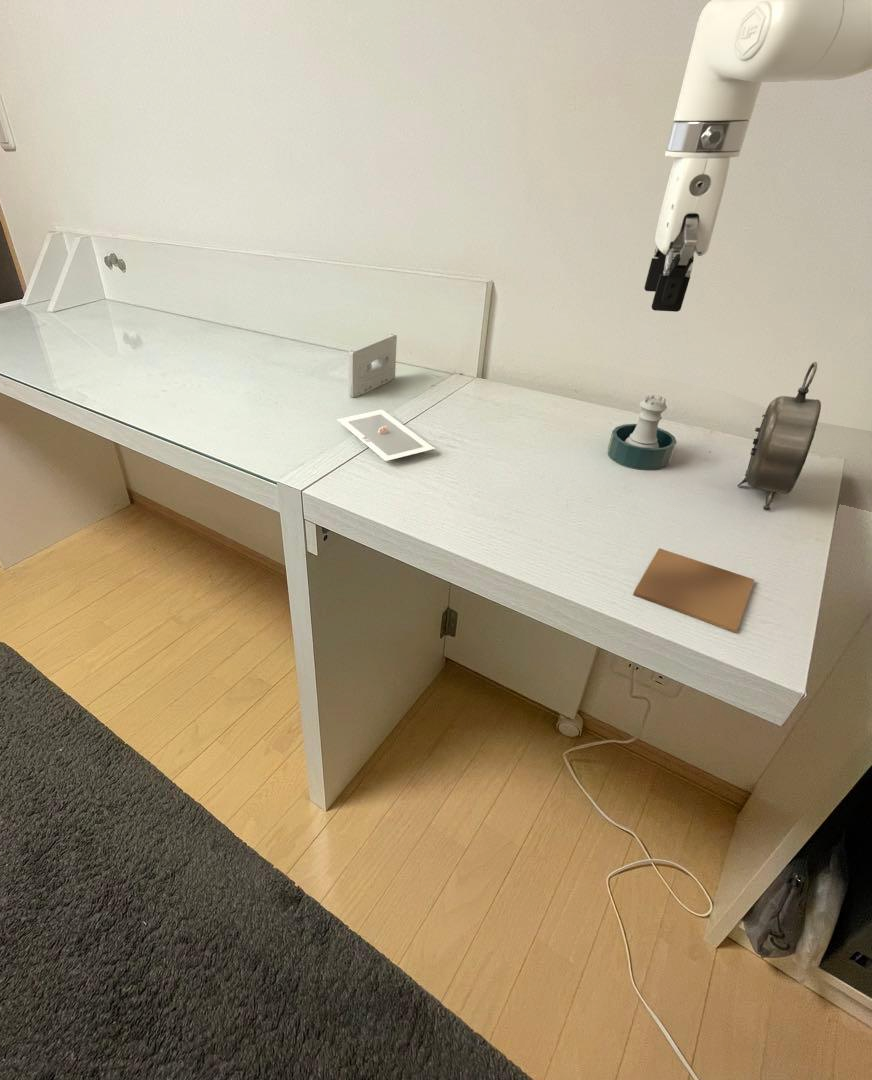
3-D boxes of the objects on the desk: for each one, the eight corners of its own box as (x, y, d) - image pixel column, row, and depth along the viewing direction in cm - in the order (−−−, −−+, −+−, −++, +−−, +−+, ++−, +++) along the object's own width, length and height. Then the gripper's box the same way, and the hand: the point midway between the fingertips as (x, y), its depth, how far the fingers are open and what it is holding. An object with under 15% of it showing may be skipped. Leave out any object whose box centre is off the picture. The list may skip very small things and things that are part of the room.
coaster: (753, 582, 61) (754, 579, 61) (735, 633, 55) (737, 630, 55) (658, 550, 66) (659, 547, 65) (632, 594, 60) (634, 591, 60)
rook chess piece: (637, 444, 85) (653, 389, 81) (664, 457, 82) (682, 401, 77) (613, 451, 84) (628, 396, 79) (640, 464, 80) (657, 408, 76)
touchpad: (381, 416, 96) (382, 403, 94) (434, 455, 84) (435, 441, 83) (336, 426, 93) (336, 412, 92) (385, 468, 82) (385, 453, 81)
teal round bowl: (676, 453, 84) (682, 433, 82) (660, 476, 79) (667, 455, 77) (617, 438, 88) (622, 419, 86) (599, 459, 83) (604, 439, 81)
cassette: (354, 399, 101) (354, 353, 97) (346, 396, 102) (345, 350, 98) (397, 378, 109) (399, 334, 104) (389, 376, 110) (390, 332, 105)
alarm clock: (781, 519, 70) (847, 383, 61) (728, 506, 72) (783, 373, 63) (785, 478, 77) (844, 351, 68) (737, 468, 80) (787, 344, 70)
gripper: (761, 144, 60) (704, 321, 70) (727, 136, 74) (683, 286, 84) (678, 145, 62) (634, 317, 72) (660, 137, 76) (624, 283, 86)
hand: (660, 300), depth 78 cm, fingers open, 9 cm apart
